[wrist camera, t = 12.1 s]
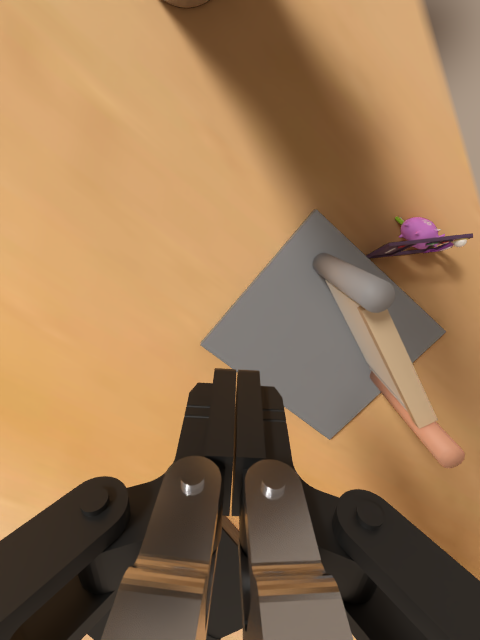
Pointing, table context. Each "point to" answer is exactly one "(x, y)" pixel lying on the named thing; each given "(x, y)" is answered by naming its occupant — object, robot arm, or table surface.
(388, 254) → the purple decorated picture frame
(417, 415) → the panel
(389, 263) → the table surface
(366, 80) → the table surface
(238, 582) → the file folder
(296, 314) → the board
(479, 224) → the table surface
